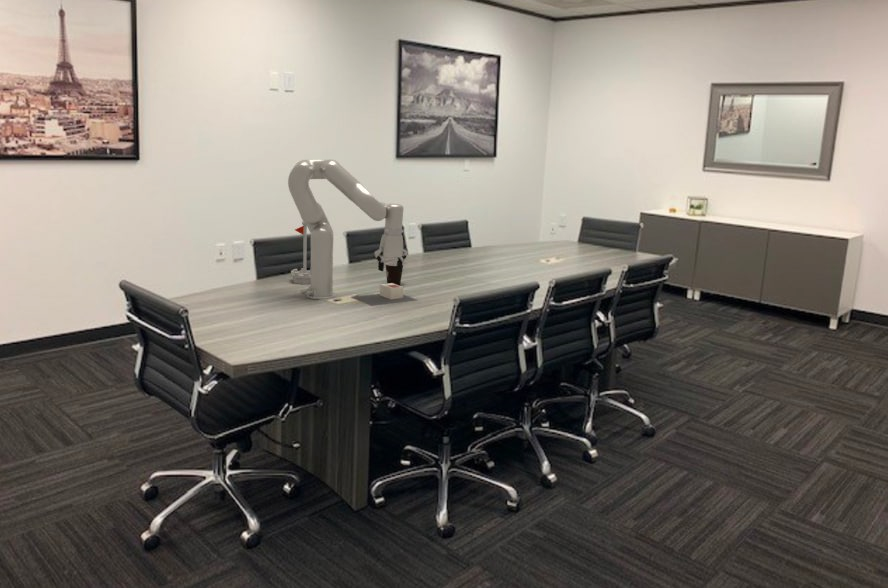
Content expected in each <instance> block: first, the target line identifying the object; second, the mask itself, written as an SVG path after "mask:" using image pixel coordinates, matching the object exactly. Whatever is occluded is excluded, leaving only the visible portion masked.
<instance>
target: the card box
mask: <svg viewBox="0 0 888 588" xmlns="http://www.w3.org/2000/svg"><path fill="white" fill-rule="evenodd" d="M379 294H380V296H383V297H386V298H388V299H398V298H403V295H404V286H401V285H396V284H393V283H389V284H387V283H381V284H379Z"/></svg>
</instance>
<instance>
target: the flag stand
mask: <svg viewBox="0 0 888 588" xmlns="http://www.w3.org/2000/svg"><path fill="white" fill-rule="evenodd" d="M301 225H302V226H299V227H297V228H295V229H294V231H295V232H297V233H299V234H300V235H303V236H302V237H303V240H302V241H303V243H302V244H303V245H302V247H303V251H302V252H303V253H302V254H303V255H302V256H303V257H302V259H303V261H302V262H303V263H302V267H303V268H300V270H298V268H293V269H292V270H291V271H290V276H291V277H292V279H293V280H292V281H293V283H294V284H298V285H299V284H300V285H311V268H310V269H309V270H307V253H308V252H307V247H308V245H307V241H308V239H307V236H308V235H307V234H308V227H307V225H306V223H305V222H304V221H303V220H301Z"/></svg>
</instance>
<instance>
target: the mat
mask: <svg viewBox="0 0 888 588" xmlns="http://www.w3.org/2000/svg"><path fill="white" fill-rule="evenodd" d="M350 298H351V299H353V300H357V301H358V302H362V303H364V304H367V305H368V306H371V307H374V306H375V307H376V306H382V305H384V306H385V305H390V304H400V303H407V302H415V301H416V302H417V299H416V298H413V297H411V296H408V295H405V294H403V298H398V299H388V298H386V297H383V296H380V293H376V294H365V295H357V296H350Z"/></svg>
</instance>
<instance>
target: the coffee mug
mask: <svg viewBox="0 0 888 588" xmlns="http://www.w3.org/2000/svg"><path fill="white" fill-rule="evenodd" d="M403 267H404V264H403V263H402V270H397V262H387V263H385V271H386V272H385V273H386V284H389V283H393V284H396V285H399V286H401V282H402V275H403V271H404V268H403Z"/></svg>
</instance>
